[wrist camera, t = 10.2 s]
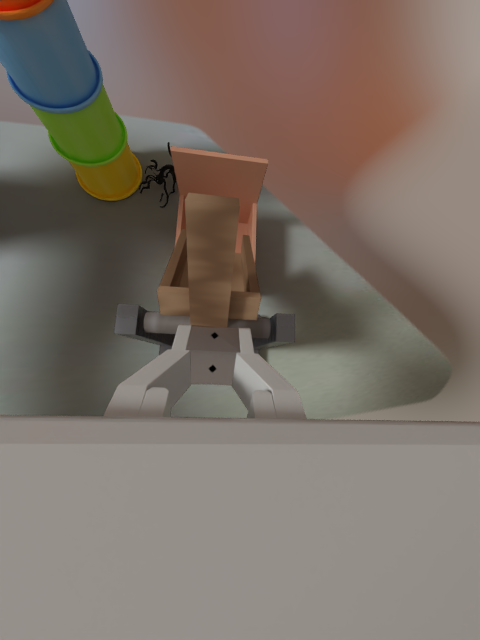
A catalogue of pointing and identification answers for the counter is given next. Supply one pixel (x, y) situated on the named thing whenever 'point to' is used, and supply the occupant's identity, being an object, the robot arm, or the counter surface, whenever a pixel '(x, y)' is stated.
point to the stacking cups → (67, 94)
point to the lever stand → (133, 327)
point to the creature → (161, 176)
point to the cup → (220, 184)
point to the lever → (209, 273)
